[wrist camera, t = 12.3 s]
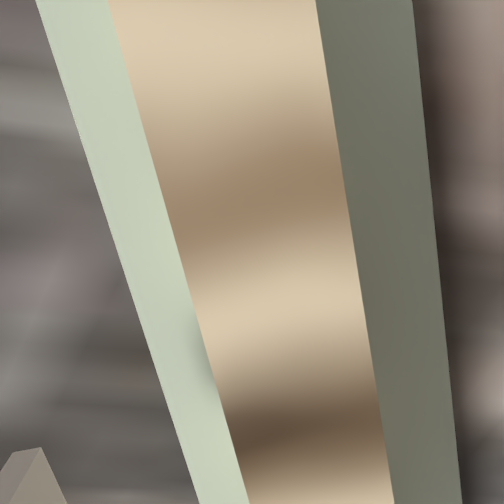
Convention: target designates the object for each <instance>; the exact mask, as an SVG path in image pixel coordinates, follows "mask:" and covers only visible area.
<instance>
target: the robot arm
mask: <svg viewBox="0 0 504 504" xmlns="http://www.w3.org/2000/svg"><path fill="white" fill-rule="evenodd" d="M0 504H67V503H66V500H65V498H64V496H63V494H62V492H61V490H60V487H59V485H58V483H57V481H56V479H55V477H54V474H53V472H52V470H51V468H50V466H49V463H48V461H47V459H46V457H45V455H44V453H43V450H42V448H41V447H40V448H35V449H29V450H24V451H18V452H13V453H12V455H11V456H10V458H9V459H8V461H7V462H6V464H5V465H4V467H3V469H2V470H1V472H0Z"/></svg>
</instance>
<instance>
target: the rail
mask: <svg viewBox="0 0 504 504" xmlns="http://www.w3.org/2000/svg"><path fill="white" fill-rule="evenodd" d="M107 1H108V5H109V8H110V12H111V15H112V19H113V23H114V26H115V30H116V33H117V37H118V40H119V44H120V47H121V51H122V54H123V58H124V61H125V65H126V69H127V72H128V76H129V79H130V83H131V86H132V90H133V93H134V97H135V100H136V104H137V107H138V111H139V114H140V118H141V122H142V125H143V129H144V132H145V136H146V139H147V143H148V146H149V150H150V153H151V157H152V160H153V164H154V168H155V171H156V175H157V178H158V182H159V185H160V189H161V192H162V196H163V199H164V203H165V206H166V210H167V214H168V217H169V221H170V224H171V228H172V231H173V235H174V238H175V242H176V245H177V249H178V252H179V256H180V259H181V263H182V267H183V270H184V274H185V277H186V281H187V284H188V288H189V291H190V295H191V298H192V302H193V305H194V309H195V313H196V316H197V320H198V323H199V327H200V330H201V334H202V337H203V341H204V344H205V348H206V351H207V355H208V358H209V362H210V366H211V369H212V373H213V376H214V380H215V383H216V387H217V390H218V394H219V397H220V401H221V404H222V408H223V412H224V415H225V419H226V422H227V426H228V429H229V433H230V436H231V440H232V443H233V447H234V450H235V454H236V458H237V461H238V465H239V468H240V472H241V475H242V479H243V482H244V486H245V489H246V493H247V496H248V500H249V503H250V504H394V497H393V491H392V485H391V478H390V472H389V466H388V459H387V453H386V447H385V440H384V434H383V428H382V421H381V415H380V409H379V402H378V396H377V389H376V383H375V377H374V370H373V364H372V358H371V351H370V345H369V339H368V332H367V326H366V320H365V313H364V307H363V301H362V294H361V288H360V282H359V275H358V269H357V263H356V256H355V250H354V243H353V237H352V231H351V224H350V218H349V212H348V205H347V199H346V193H345V186H344V180H343V174H342V167H341V161H340V155H339V148H338V142H337V136H336V129H335V123H334V116H333V110H332V104H331V97H330V91H329V85H328V78H327V72H326V66H325V59H324V53H323V47H322V40H321V34H320V28H319V21H318V15H317V9H316V2H315V0H107Z"/></svg>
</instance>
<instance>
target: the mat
mask: <svg viewBox="0 0 504 504" xmlns="http://www.w3.org/2000/svg"><path fill="white" fill-rule="evenodd" d="M315 2H316V9H317V15H318V21H319V28H320V34H321V40H322V47H323V53H324V59H325V66H326V72H327V78H328V85H329V91H330V97H331V104H332V110H333V116H334V123H335V129H336V136H337V142H338V148H339V155H340V161H341V167H342V174H343V180H344V186H345V193H346V199H347V205H348V212H349V218H350V224H351V231H352V237H353V243H354V250H355V256H356V263H357V269H358V275H359V282H360V288H361V294H362V301H363V307H364V313H365V320H366V326H367V332H368V339H369V345H370V351H371V358H372V364H373V370H374V377H375V383H376V389H377V396H378V402H379V409H380V415H381V421H382V428H383V434H384V440H385V447H386V453H387V459H388V466H389V472H390V478H391V485H392V491H393V497H394V504H462V496H461V486H460V476H459V465H458V455H457V445H456V435H455V425H454V415H453V405H452V395H451V385H450V375H449V365H448V355H447V345H446V335H445V325H444V315H443V305H442V295H441V285H440V275H439V265H438V255H437V245H436V234H435V224H434V214H433V204H432V194H431V184H430V174H429V164H428V154H427V144H426V134H425V124H424V114H423V104H422V94H421V84H420V74H419V64H418V54H417V44H416V34H415V24H414V14H413V4H412V0H315ZM36 3H37V6H38V9H39V12H40V15H41V19H42V22H43V25H44V28H45V31H46V34H47V37H48V40H49V43H50V46H51V49H52V52H53V55H54V58H55V61H56V64H57V68H58V71H59V74H60V77H61V80H62V83H63V86H64V89H65V92H66V95H67V98H68V101H69V104H70V107H71V110H72V114H73V117H74V120H75V123H76V126H77V129H78V132H79V135H80V138H81V141H82V144H83V147H84V150H85V153H86V156H87V159H88V163H89V166H90V169H91V172H92V175H93V178H94V181H95V184H96V187H97V190H98V193H99V196H100V199H101V202H102V205H103V208H104V212H105V215H106V218H107V221H108V224H109V227H110V230H111V233H112V236H113V239H114V242H115V245H116V248H117V251H118V254H119V258H120V261H121V264H122V267H123V270H124V273H125V276H126V279H127V282H128V285H129V288H130V291H131V294H132V297H133V300H134V303H135V307H136V310H137V313H138V316H139V319H140V322H141V325H142V328H143V331H144V334H145V337H146V340H147V343H148V346H149V349H150V352H151V356H152V359H153V362H154V365H155V368H156V371H157V374H158V377H159V380H160V383H161V386H162V389H163V392H164V395H165V398H166V402H167V405H168V408H169V411H170V414H171V417H172V420H173V423H174V426H175V429H176V432H177V435H178V438H179V441H180V444H181V447H182V451H183V454H184V457H185V460H186V463H187V466H188V469H189V472H190V475H191V478H192V481H193V484H194V487H195V490H196V493H197V496H198V500H199V503H200V504H250V503H249V500H248V496H247V493H246V489H245V486H244V482H243V479H242V475H241V472H240V468H239V465H238V461H237V458H236V454H235V450H234V447H233V443H232V440H231V436H230V433H229V429H228V426H227V422H226V419H225V415H224V412H223V408H222V404H221V401H220V397H219V394H218V390H217V387H216V383H215V380H214V376H213V373H212V369H211V366H210V362H209V358H208V355H207V351H206V348H205V344H204V341H203V337H202V334H201V330H200V327H199V323H198V320H197V316H196V313H195V309H194V305H193V302H192V298H191V295H190V291H189V288H188V284H187V281H186V277H185V274H184V270H183V267H182V263H181V259H180V256H179V252H178V249H177V245H176V242H175V238H174V235H173V231H172V228H171V224H170V221H169V217H168V214H167V210H166V206H165V203H164V199H163V196H162V192H161V189H160V185H159V182H158V178H157V175H156V171H155V168H154V164H153V160H152V157H151V153H150V150H149V146H148V143H147V139H146V136H145V132H144V129H143V125H142V122H141V118H140V114H139V111H138V107H137V104H136V100H135V97H134V93H133V90H132V86H131V83H130V79H129V76H128V72H127V69H126V65H125V61H124V58H123V54H122V51H121V47H120V44H119V40H118V37H117V33H116V30H115V26H114V23H113V19H112V15H111V12H110V8H109V5H108V1H107V0H36Z"/></svg>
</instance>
